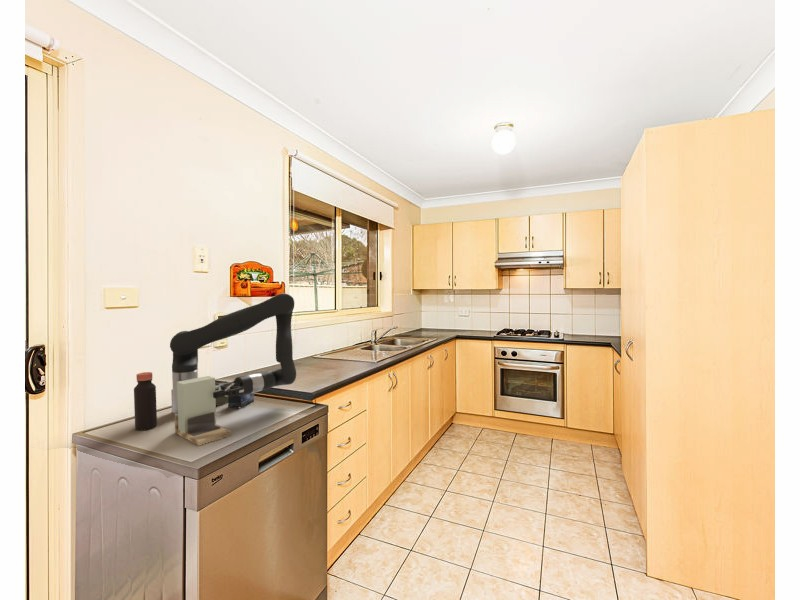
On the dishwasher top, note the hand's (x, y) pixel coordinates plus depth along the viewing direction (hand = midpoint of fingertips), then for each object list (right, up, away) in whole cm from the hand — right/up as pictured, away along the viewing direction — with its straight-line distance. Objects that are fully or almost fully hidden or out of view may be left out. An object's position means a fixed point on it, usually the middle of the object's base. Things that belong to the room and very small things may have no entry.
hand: (208, 393), depth 144 cm
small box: (+1, -12, +29) cm, 31 cm away
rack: (+1, -13, -6) cm, 14 cm away
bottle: (-23, -13, +1) cm, 27 cm away
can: (-12, -12, +32) cm, 36 cm away
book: (-3, -11, -3) cm, 12 cm away
